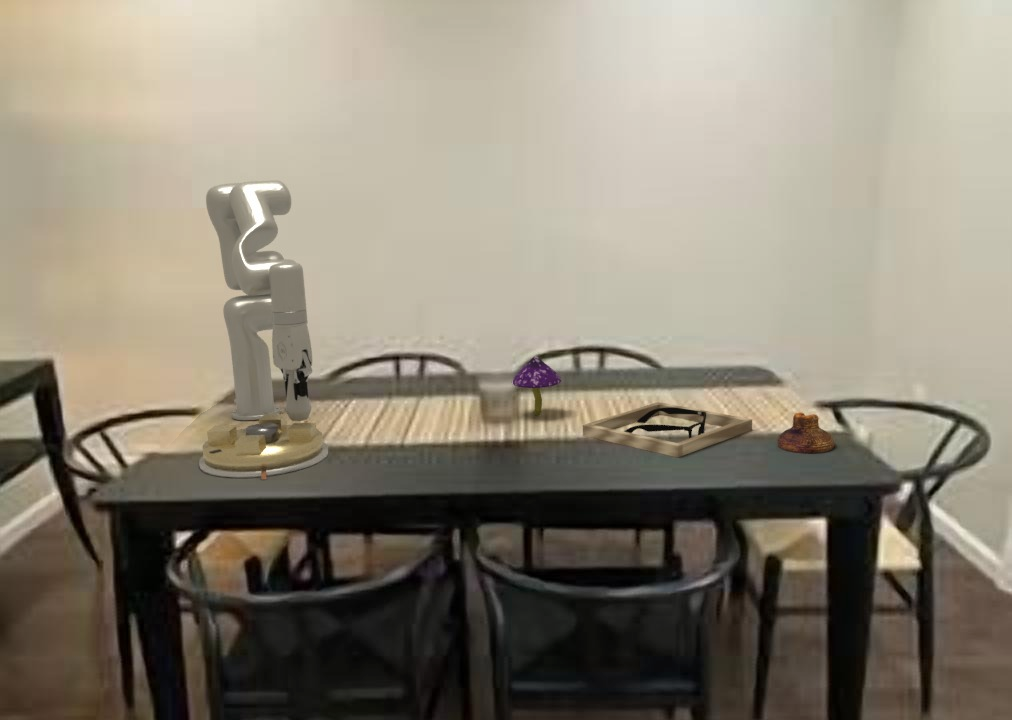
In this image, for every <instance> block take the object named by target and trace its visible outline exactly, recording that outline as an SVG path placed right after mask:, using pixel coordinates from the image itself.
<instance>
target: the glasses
mask: <svg viewBox="0 0 1012 720" xmlns="http://www.w3.org/2000/svg"><path fill="white" fill-rule="evenodd" d="M658 411H662V412H665V413H667V414H696V415H699V414H700V416H703V421H702V422H696V423H694V424H692V425H689V426H682V425H671V424H670V425H668V424H646V423H647V422H648V421H649V420H650V419H652V417H654V416H653V415H654V414H655V413H656V412H658ZM705 420H706V412H702V411H695V410H689V409H682V408H672V407H665V408H658V409H654V410H652V411H650V412H648V413H647V414H645V415H644V416H643V417H641V418H640V419H639V420H638V421H636V422H637V423H638V424H639V423H640V424H641V423H642V424H641V425H640V424H639V425H635V426H631V427H629V428H627V429H626V430H624V432H628V433H633V432H635V431H637V430H643V431H645V432H648V433H650V432H669V431H684V432H688V439H689V438H692V436H693V434H692V431H693V429H694V428H695V427H697V426H699V427H698V432H697V436H698V435H700V434H703V433H705V428H706V427H705V425H706V423H705Z"/></svg>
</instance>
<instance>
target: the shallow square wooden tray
mask: <svg viewBox="0 0 1012 720" xmlns="http://www.w3.org/2000/svg"><path fill="white" fill-rule="evenodd" d="M665 407H672V408H682V409H689V410H695V411H702V412H706V420H705V424H708V425H713V426H718V428H715V429H712V430H710V431H707V432H704V433H703V434H702V433H701V434H700V435H698V434H697V435H695V436H693V437H692V438H689V437H688V438H686V439H684V440H682V441H681V440H680V441H679V442H673V441H668V440H666V439H665V440H664V439H660V438H655V437H650V436H645V435H641V434H636V433H633V432H632V433H628V432H624V431H625V430H624V431H623V430H619V429H617V428H620V427H623V426H626V425H630V424H633V423H635V422H637V421H638V420H639V419H640V418H641V417H643V416H644V415H645V414H647V413H648V412H650V411H652V410H654V409H658V408H665ZM657 415H661V416H666V417H672V418H675V419H683V420H686V421H687V420H688V421H693V422H696V423H700V422H702V421H703V416H700V414H699V415H696V414H667V413H665V412H662V411H658V412H656V413H655V414H654V415H653V416H652V417H655V416H657ZM750 431H753V419H752V418H746V417H741V416H735V415H731V414H730V415H729V414H725V413H718V412H713V411H709V410H703V409H698V408H693V407H692V408H691V407H686V406H682V405H676V404H670V403H665V402H659V401H658V402H654V403H651V404H647V405H643V406H641V407H637V408H634V409H632V410H627V411H624V412H621V413H618V414H615V415H611V416H608V417H604V418H602V419H599V420H598V419H597V420H595V421H591V422H588V423H584V424H582V436H583V437H586V438H592V439H595V440H596V439H597V440H600V441H606V442H609V443H614V444H618V445H622V446H626V447H630V448H636V449H639V450H645V451H649V452H653V453H656V454H657V453H658V454H661V455H666V456H670V457H674V458H680V457H684V456H686V455H688V454H692V453H694V452H696V451H699V450H702V449H704V448H707V447H710V446H714V445H715V444H718V443H720V442H724V441H726V440H729V439H732V438H735V437H737V436H739V435H743V434H745V433H748V432H750Z"/></svg>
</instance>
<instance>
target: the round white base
mask: <svg viewBox="0 0 1012 720" xmlns="http://www.w3.org/2000/svg"><path fill="white" fill-rule="evenodd" d="M328 455H329V447H328V444H326V443H325V442H323V450H322V452H321V453H320V454H318V455H317V456H315V457H313V458H311V459H309V460H306V461H304V462H301V463H297V464H294V465H290V466H285V467H280V468H274V469H267V470H257V471H228V470H220V469H215V468H212V467H209V466H207V465H206V464H205V463H204V458H203V455H202V456H201V457H200V458H199V461H198V462H199V463H198V464H199V469H200V471H202V472H203V473H205V474H207V475H209V476H214V477H219V478H231V479H252V478H253V479H255V478H261V481H262V480H267V477H273V476H279V475H286V474H289V473H293V472H297V471H300V470H304V469H306V468H309V467H312V466H315V465H317V464H319V463H321V462H323V460H325V459H326V458H327V457H328Z"/></svg>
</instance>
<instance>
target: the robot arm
mask: <svg viewBox="0 0 1012 720" xmlns="http://www.w3.org/2000/svg"><path fill="white" fill-rule="evenodd" d="M205 204H206V209H207V213H208V217H209V219H210V221H211V225H213V227H214V229H215V232H216V235H217V237H218V241H219V249H220V256H221V264H222V270H223V275H224V280H225V283H226V285H227V287H228V288H229V289H230V290H233V291H242V292H243V293H244V294H245V295H243V294H242V295H237V296H235V297H231V298H230V299H227V300H226V302H225V304H224V305H223V309H222V311H223V320H224V323H225V326H226V329H227V334H228V339H229V343H230V354H231V366H232V373H233V385H234V392H235V393H234V394H235V398H234V400H233V403H234V404H235V405H236V409H234V410H233V411H232V412H231V414H230V416H231V418H232V419H234V420H238V421H259V419H261V418H262V417H263V416H264V415H266V414H281V412H282V410H281V407H280V406H277V405H275V401H274V400H275V399H274V393H273V392H274V389H273V381H272V379H273V378H272V370H271V368H272V367H271V360H270V359H271V358H270V349H269V347H268V345H267V342H266V341H265V340H264V339H263V338H262V337H260V336H259V335H258V332H262V331H270V330H271V331H272V333H271V335H272V336H271V337H272V339H271V341H272V343H271V344H272V347H271V348H272V362H273V365H274V367H276V368H279V370H280V371H281V374H282V379H283V381H284V388H285V389H284V390H285V397H286V399H287V387H288V376H289V374H287V373H286V370H291V371H294V378H295V383H293V384H294V395H295V400H296V401H297V398H298V395H299V396H301V397H304V396H307V398H308V396H309V389H308V381H309V376H310V375H311V374H312V373H313V368H312V366H313V351H312V350H313V349H312V343H311V337H310V333H309V332H310V331H309V327H308V313H307V312H308V310H307V302H306V301H307V300H306V291H305V290H306V289H305V278H304V269H303V266H302V265H301V264H300V263H298V262H296V261H295V260H293V259H285V258H284V257H283V254H281V253H280V252H278V251H277V250H264V251H263V250H262V251H259V250H261V249H263V248H265V247H267V246H268V245H271V243H273V241H275V239H276V238H277V236H278V232H279V228H278V224H277V222H276V219H275V217H274V216H284V215H286V214H288V213H289V212H290V210H291V209H292V196H291V193H290V190H289V188H288V186H287V185H286V184H285V183H284V182H283V181H281V180H261V181H259V180H257V181H245V182H237V183H236V182H234V183H224V184H223V183H222V184H218V185H214V186H212V187H211V188H209V189H208V190H207V192H206V196H205ZM302 365H303V368H300V366H302ZM297 368H300V369H297ZM285 369H286V370H285ZM300 371H303V372H300ZM298 372H300V374H299V373H298Z"/></svg>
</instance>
